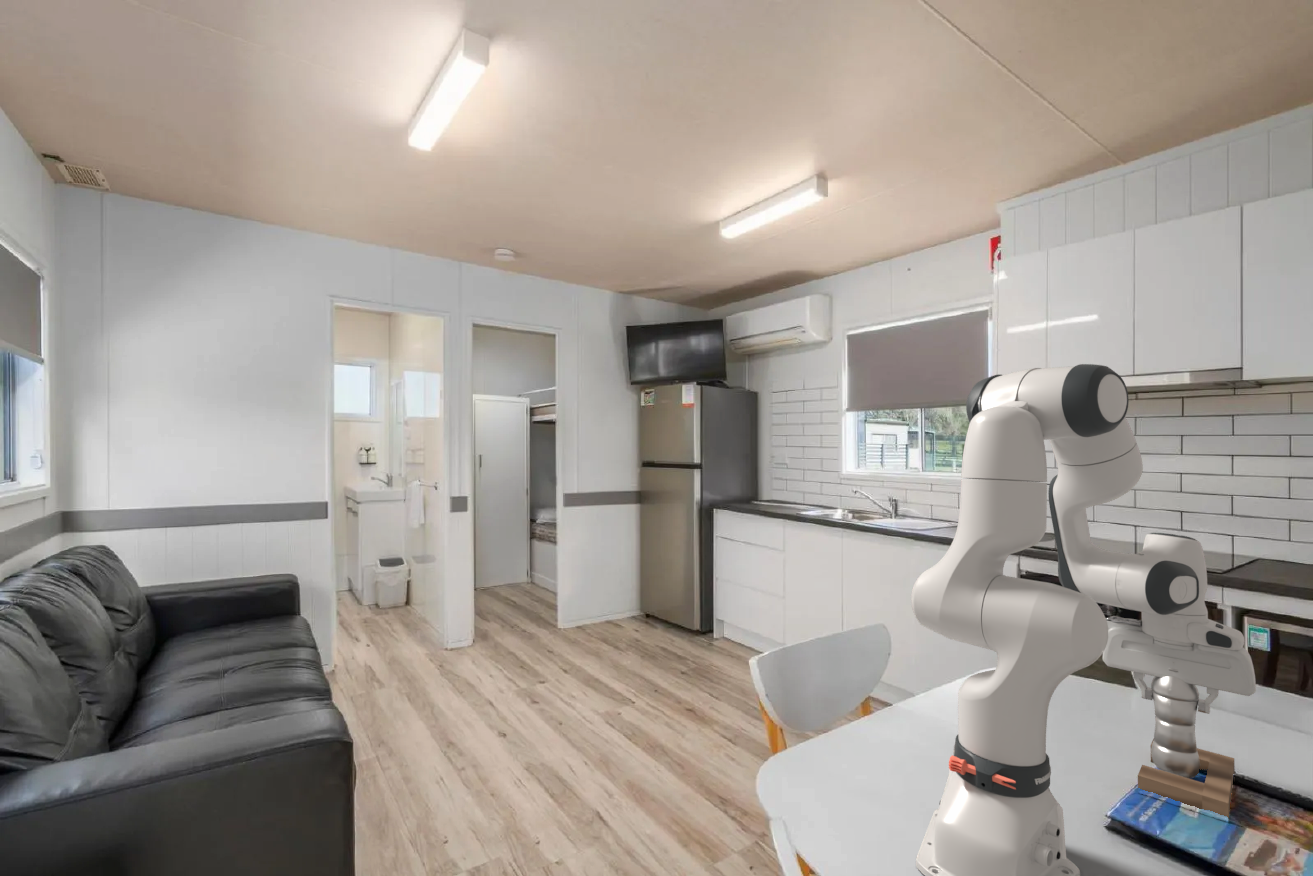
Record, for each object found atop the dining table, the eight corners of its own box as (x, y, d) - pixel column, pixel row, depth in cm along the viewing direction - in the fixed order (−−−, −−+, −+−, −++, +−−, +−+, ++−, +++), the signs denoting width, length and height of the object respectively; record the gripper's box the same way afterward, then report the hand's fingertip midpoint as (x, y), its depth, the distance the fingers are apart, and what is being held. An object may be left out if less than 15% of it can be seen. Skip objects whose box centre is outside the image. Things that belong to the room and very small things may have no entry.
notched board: (1228, 823, 92) (1228, 803, 92) (1137, 793, 100) (1137, 775, 100) (1234, 775, 106) (1234, 758, 106) (1154, 752, 114) (1154, 736, 114)
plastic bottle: (1181, 764, 107) (1179, 652, 107) (1211, 785, 100) (1209, 666, 101) (1142, 762, 108) (1140, 651, 108) (1168, 782, 101) (1167, 664, 102)
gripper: (1097, 617, 110) (1098, 692, 110) (1254, 643, 95) (1256, 730, 95) (1104, 610, 114) (1105, 683, 114) (1255, 634, 100) (1256, 718, 99)
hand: (1175, 705), depth 104 cm, fingers closed on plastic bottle, 6 cm apart
